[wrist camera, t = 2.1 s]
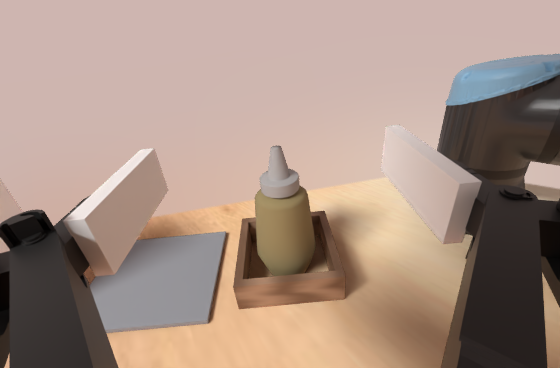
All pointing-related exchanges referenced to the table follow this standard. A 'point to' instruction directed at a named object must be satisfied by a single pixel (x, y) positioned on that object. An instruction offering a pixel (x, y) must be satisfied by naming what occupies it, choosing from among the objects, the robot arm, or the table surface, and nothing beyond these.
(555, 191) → the table surface
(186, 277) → the slate mat
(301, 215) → the squeeze bottle
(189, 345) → the table surface
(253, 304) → the walnut tray
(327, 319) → the table surface
